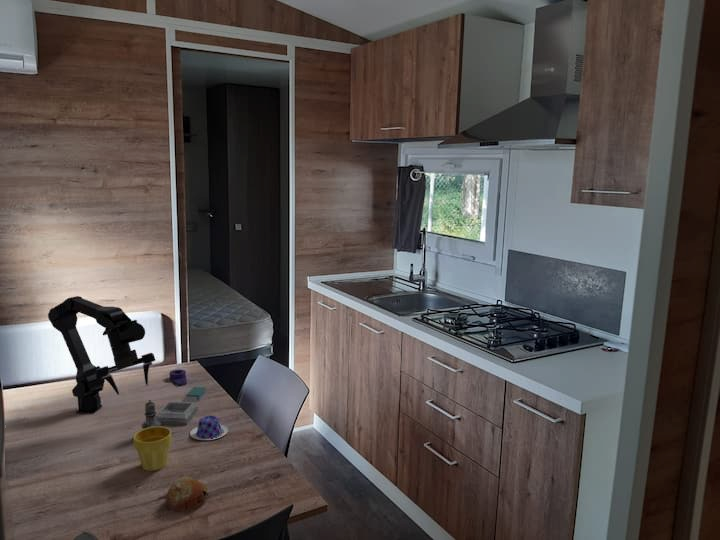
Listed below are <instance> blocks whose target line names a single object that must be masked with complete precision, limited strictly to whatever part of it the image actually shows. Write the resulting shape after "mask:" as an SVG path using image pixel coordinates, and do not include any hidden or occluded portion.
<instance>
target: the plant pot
mask: <svg viewBox="0 0 720 540" xmlns="http://www.w3.org/2000/svg"><path fill="white" fill-rule="evenodd" d="M132 439H133V441H132V442H133V447H134V450H135V451H136V452H137V454H138V457H139V461H140V464H141V466H142V469H143V470H145V471H148V472H150V471H151V472H152V471H158V470H161V469H163V468H164V467H166V465H167V464H168V463H167V462H168V456H169V450H170V446H171V445H172V443H173V437H172V430H171V429H170V428H169V427H166V426H161V425H160V426H156V427H149V428H145V429H143V428H141V429H140V430H138V431H137V432H136V433H134V435H133V437H132Z"/></svg>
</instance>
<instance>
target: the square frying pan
mask: <svg viewBox="0 0 720 540" xmlns="http://www.w3.org/2000/svg"><path fill="white" fill-rule="evenodd" d="M206 392H207V389H206V387H205V386H202V387H201V386H193V387H192V388H191V390H189V392H187V394H186V397H184V399H182V401H167V403H165V404H164V406H162V407H161V408H160V410H158V411H157V412H156V415H157V416H156V421H159V422H160V423H161V424H164V425H165V424H166V425H188V424H189V422H190V421H191V420H192V419H193V418H194V417H195V416H196V414H197V413H198V411H199V408H198V406H196V403H197V402H198V401H199V400H200V399H201V398H202V397H203V396H204V394H205V393H206Z"/></svg>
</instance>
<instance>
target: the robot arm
mask: <svg viewBox="0 0 720 540" xmlns="http://www.w3.org/2000/svg"><path fill="white" fill-rule="evenodd" d="M79 313H80V314H82V315H85V316H88V317H90V318H92V319H94V320H95V321H96V324H98V325H99V326H101V327H103V328H105V329H104V331H102V336H107V339H108V343H109V346H110V350H111V353H112V356H113V363H114V365H112V366H110V367H109V365H105V366H102V367H100V365H97V366H96V365H94V364H93V363H92V362H91V359H90V357H89V354H88V352H87V349H86V347H85V345H84V342H83V339H82V337H81V336H80V333H79V331H78V329H77V322H78V315H77V314H79ZM47 318H48V320H49V321H50V323H51V325H52V327H53V328H54V329H55V330H57V331H59V332H60V334H61V336H62V337H63V340H64V342H65V345H66V346H67V349H68V352H69V354H70V356H71V359H72V361H73V363H74V365H75V368H76V375H75V382H76V385H75V386H74V387H73V388H72V389H71V393H72V395H73V397H75V398H77V406H78V409H77V410H76V411H75V413H76V414H95V413H96V412H97V411H99V410H100V409H101V408H102V407H103V404H101V403H102V401H101V396H100V392H102V391H104V390H103V389H104V385H105V382H107V383H108V384H109V385H111V388H112V389H113V390H114V392H115V393H116V394H117V396H119V395H120V392H119V389H118V386H117V385H116V382H115V380H114V377H113V375H112V374H111V373H113V372H117V371H121V370H124V369H126V368H127V369H128V368H129V367H130V368H131V367H134V366H137V365H139V364H142V368H143V374H144V375H143V376H144V383H145V385H146V386H149V385H148V382H149V380H148V379H149V369H150V366H152V365H153V362H155V361H156V357H155V354H154V353H153V352H148V353H146V354H142V355H141V356H140V357H138V353H137V350H136V349H131V346H130V344H131V343H133V342H138V341H141V340H143V339H144V338H145V337H146V336H145V335H146V329H145V327H144V326H143V325H142V324H141V323H139V322H138V320H137V319H134V320H132V319H131V318H130V317H129V315H127V314H126V313H125V312H124V311H123V309H122V308H120V307H118V306H104V305H100V304H98V303H95V302H93V301H91V300H88V299H85V298H83V297H82V296H79V295H77V296H71V297H68V298H67V299H65V300H64V301H62V302H60V303H59V304H57V305H56V306H55V307H52V308H50V309H49V312H48V313H47Z"/></svg>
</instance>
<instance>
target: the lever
mask: <svg viewBox="0 0 720 540" xmlns="http://www.w3.org/2000/svg"><path fill="white" fill-rule="evenodd" d="M170 380H171V381H170ZM169 381H170V382H172V383H173V382H174V383H173V384H175V385H176V384H177V386H179V387H182V386H183V385H184V386H187V385H188V380H187V373H186V370H185V369H173V370H171V371H169ZM186 384H187V385H186ZM184 386H183V387H184Z"/></svg>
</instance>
